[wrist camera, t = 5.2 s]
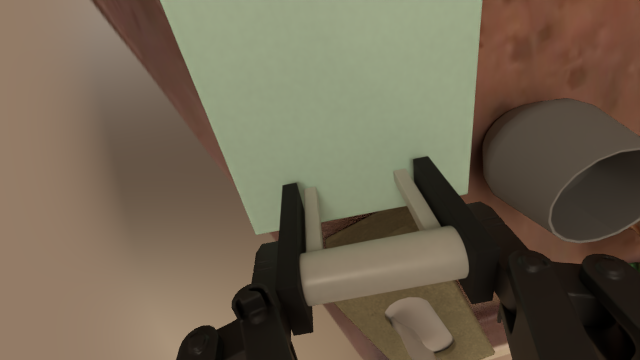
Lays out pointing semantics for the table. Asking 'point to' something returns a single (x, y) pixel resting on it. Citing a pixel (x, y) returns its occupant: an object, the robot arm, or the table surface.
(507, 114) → the cup
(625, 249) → the table surface
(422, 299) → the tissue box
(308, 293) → the cooler lid
